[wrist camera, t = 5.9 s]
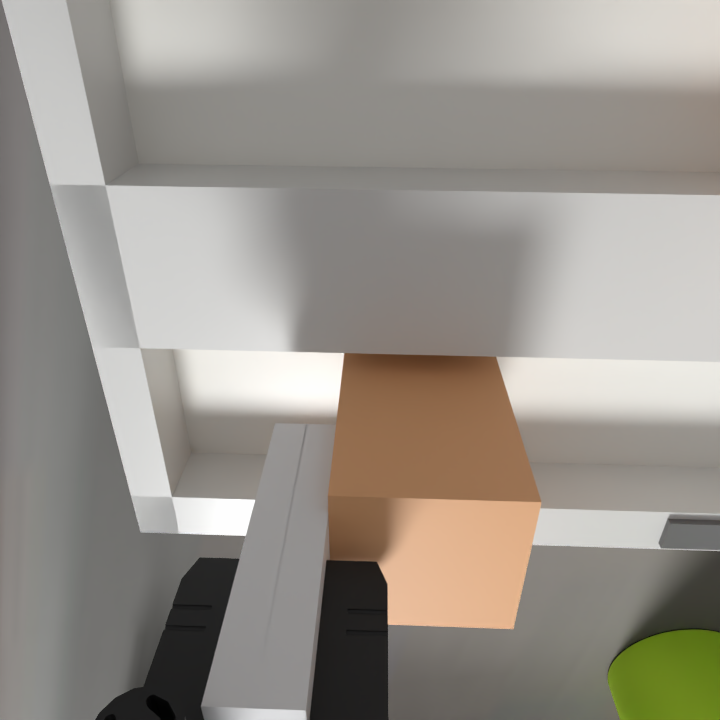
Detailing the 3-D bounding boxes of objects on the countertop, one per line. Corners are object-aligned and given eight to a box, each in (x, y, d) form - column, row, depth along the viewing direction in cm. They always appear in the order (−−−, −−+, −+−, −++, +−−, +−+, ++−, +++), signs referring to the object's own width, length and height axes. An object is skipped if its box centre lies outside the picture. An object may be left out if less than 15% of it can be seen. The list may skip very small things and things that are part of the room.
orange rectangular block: (346, 448, 18) (331, 622, 13) (345, 340, 16) (327, 495, 11) (477, 452, 18) (512, 628, 13) (491, 343, 16) (541, 502, 11)
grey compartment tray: (171, 466, 21) (138, 537, 18) (36, -183, 12) (-68, -238, 9) (816, 485, 20) (884, 561, 17) (1176, -185, 11) (1429, -243, 9)
